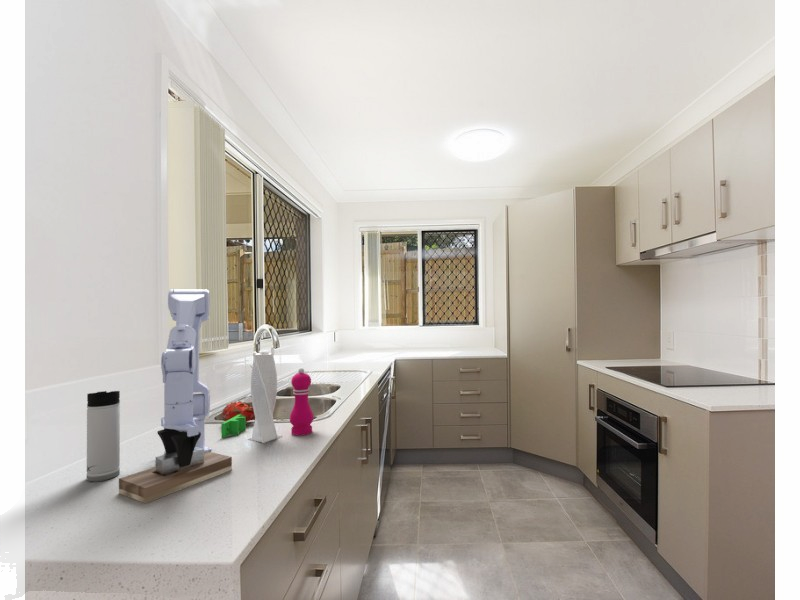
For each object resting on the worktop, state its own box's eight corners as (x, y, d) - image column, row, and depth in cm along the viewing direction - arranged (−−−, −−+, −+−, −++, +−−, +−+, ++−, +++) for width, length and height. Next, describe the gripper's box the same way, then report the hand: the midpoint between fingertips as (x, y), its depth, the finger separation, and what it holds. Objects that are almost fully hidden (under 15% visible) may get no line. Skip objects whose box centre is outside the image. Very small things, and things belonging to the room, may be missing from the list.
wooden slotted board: (118, 493, 87) (118, 478, 88) (205, 462, 105) (205, 450, 105) (145, 503, 82) (145, 488, 83) (231, 469, 100) (231, 456, 100)
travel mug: (83, 484, 92) (84, 393, 93) (89, 474, 98) (89, 388, 99) (117, 479, 95) (117, 390, 96) (121, 469, 101) (121, 386, 102)
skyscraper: (285, 438, 125) (284, 344, 126) (263, 446, 118) (263, 346, 119) (266, 434, 130) (266, 344, 130) (244, 441, 123) (244, 346, 124)
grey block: (155, 480, 92) (155, 457, 92) (197, 467, 98) (196, 446, 99) (162, 484, 89) (162, 460, 89) (204, 471, 96) (204, 449, 96)
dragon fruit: (219, 429, 141) (256, 432, 143) (215, 419, 134) (253, 423, 136) (226, 405, 146) (261, 409, 148) (223, 395, 140) (260, 399, 141)
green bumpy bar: (233, 438, 126) (233, 423, 126) (221, 438, 126) (221, 423, 126) (249, 428, 137) (249, 414, 137) (238, 428, 137) (238, 414, 137)
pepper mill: (292, 429, 133) (291, 366, 134) (314, 429, 134) (314, 366, 135) (287, 436, 126) (287, 369, 127) (312, 435, 127) (311, 369, 127)
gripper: (212, 402, 93) (212, 464, 92) (183, 395, 102) (183, 451, 101) (178, 408, 87) (178, 474, 87) (151, 400, 96) (151, 460, 96)
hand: (178, 463), depth 94 cm, fingers open, 5 cm apart
